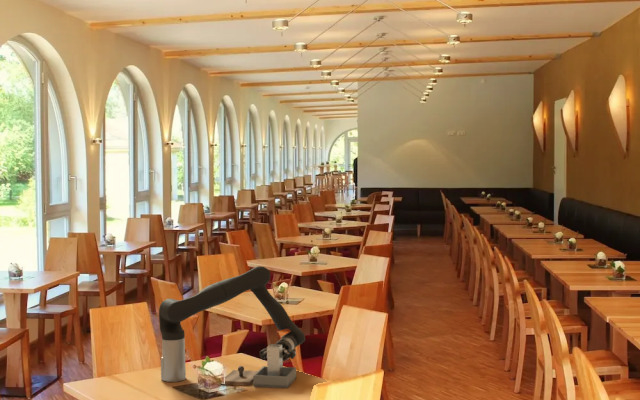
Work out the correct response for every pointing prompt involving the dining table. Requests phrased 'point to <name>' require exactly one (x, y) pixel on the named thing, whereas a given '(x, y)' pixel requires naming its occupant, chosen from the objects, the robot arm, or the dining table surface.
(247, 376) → the stud block
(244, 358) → the dining table surface
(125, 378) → the dining table surface
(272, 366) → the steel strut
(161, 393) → the dining table surface
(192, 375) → the dining table surface
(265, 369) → the grey tray
